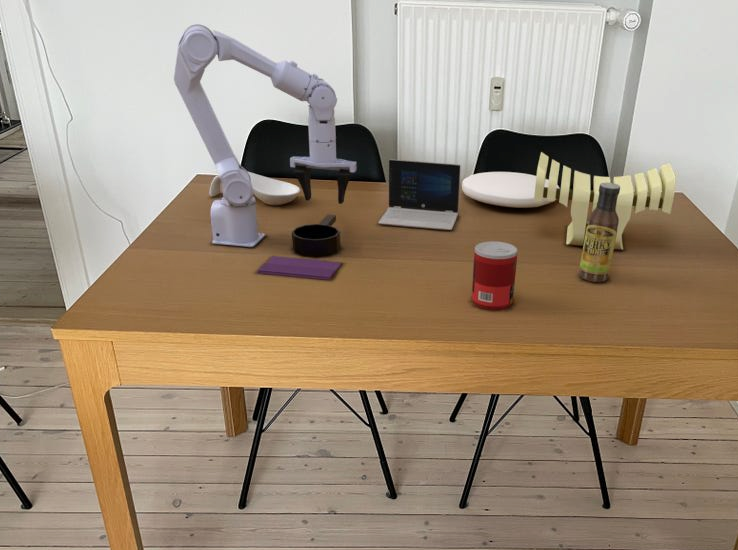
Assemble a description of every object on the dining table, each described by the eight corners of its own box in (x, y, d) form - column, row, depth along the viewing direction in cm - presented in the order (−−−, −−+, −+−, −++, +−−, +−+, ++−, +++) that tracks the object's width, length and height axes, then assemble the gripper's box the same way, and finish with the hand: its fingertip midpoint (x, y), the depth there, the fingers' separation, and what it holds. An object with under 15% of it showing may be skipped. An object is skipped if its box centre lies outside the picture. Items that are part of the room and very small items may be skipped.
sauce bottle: (575, 280, 151) (588, 185, 142) (582, 270, 156) (595, 178, 147) (605, 286, 149) (621, 190, 139) (612, 276, 154) (627, 183, 145)
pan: (332, 259, 156) (331, 241, 154) (287, 255, 157) (286, 237, 155) (353, 232, 171) (352, 216, 169) (311, 228, 172) (310, 212, 170)
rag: (257, 273, 147) (257, 270, 147) (273, 257, 155) (272, 254, 155) (329, 280, 146) (329, 277, 146) (341, 263, 154) (341, 261, 153)
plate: (471, 164, 211) (563, 174, 207) (470, 187, 214) (560, 197, 210) (453, 179, 186) (558, 190, 182) (452, 205, 188) (555, 216, 184)
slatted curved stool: (529, 245, 168) (537, 168, 160) (533, 223, 182) (541, 151, 174) (661, 258, 165) (677, 180, 156) (655, 235, 178) (669, 162, 170)
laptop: (377, 225, 176) (377, 171, 169) (388, 209, 187) (388, 158, 180) (451, 232, 174) (454, 178, 168) (458, 215, 185) (460, 164, 179)
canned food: (518, 308, 138) (523, 254, 133) (478, 312, 136) (482, 257, 130) (504, 292, 144) (509, 239, 139) (466, 295, 142) (469, 242, 137)
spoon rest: (307, 197, 193) (305, 170, 189) (291, 211, 183) (289, 182, 179) (222, 189, 196) (219, 163, 192) (202, 202, 186) (198, 174, 182)
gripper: (359, 138, 160) (360, 198, 167) (296, 133, 162) (299, 193, 169) (351, 145, 154) (352, 207, 161) (285, 140, 156) (289, 202, 162)
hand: (324, 201), depth 164 cm, fingers open, 7 cm apart
